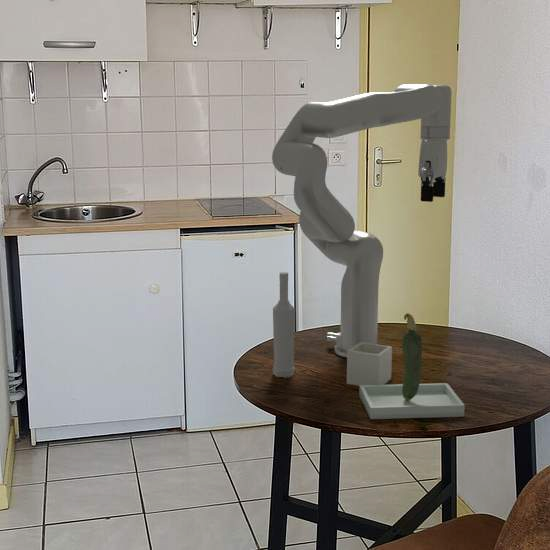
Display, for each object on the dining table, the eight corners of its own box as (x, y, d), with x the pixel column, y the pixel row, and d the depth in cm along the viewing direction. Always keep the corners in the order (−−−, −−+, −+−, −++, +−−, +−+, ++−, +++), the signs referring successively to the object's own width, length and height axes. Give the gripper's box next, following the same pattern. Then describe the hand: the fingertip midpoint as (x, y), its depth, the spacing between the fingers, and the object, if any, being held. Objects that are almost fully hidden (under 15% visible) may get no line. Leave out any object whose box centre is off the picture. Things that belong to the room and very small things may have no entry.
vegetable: (421, 399, 200) (425, 311, 195) (418, 406, 196) (421, 316, 191) (401, 397, 201) (404, 309, 197) (397, 404, 197) (400, 314, 193)
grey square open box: (346, 383, 212) (347, 350, 211) (359, 373, 219) (360, 341, 218) (378, 389, 209) (379, 355, 207) (391, 378, 216) (392, 346, 214)
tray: (370, 419, 191) (370, 407, 190) (359, 396, 204) (359, 385, 204) (464, 416, 192) (464, 405, 192) (446, 393, 206) (447, 383, 205)
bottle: (268, 374, 219) (268, 273, 213) (283, 369, 222) (283, 269, 217) (284, 379, 215) (284, 276, 210) (298, 374, 219) (299, 272, 214)
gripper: (431, 131, 245) (429, 194, 249) (410, 135, 230) (408, 202, 234) (459, 131, 242) (456, 196, 246) (438, 135, 227) (436, 204, 231)
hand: (432, 199), depth 240 cm, fingers open, 9 cm apart
